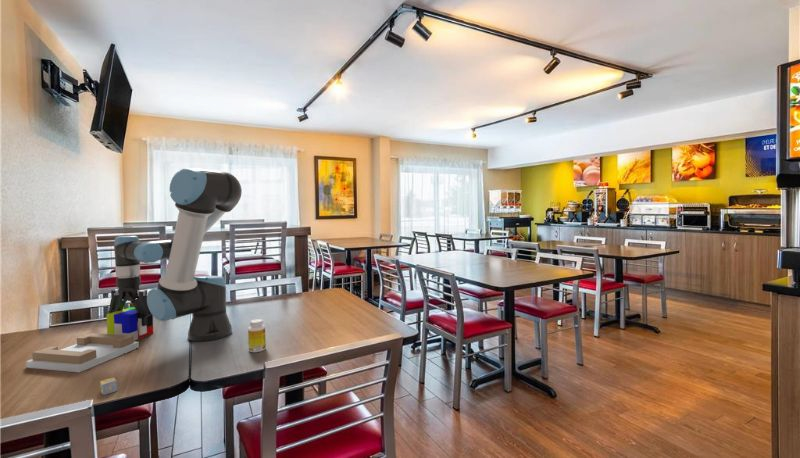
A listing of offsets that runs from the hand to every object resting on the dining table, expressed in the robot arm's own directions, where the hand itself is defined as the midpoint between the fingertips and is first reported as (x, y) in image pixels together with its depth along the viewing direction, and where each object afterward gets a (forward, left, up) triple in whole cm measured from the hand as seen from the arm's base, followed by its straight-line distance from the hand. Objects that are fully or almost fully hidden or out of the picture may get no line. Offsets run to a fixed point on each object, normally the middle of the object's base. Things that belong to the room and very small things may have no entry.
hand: (131, 333), depth 139 cm
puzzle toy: (0, 0, -2) cm, 2 cm away
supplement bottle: (-56, +4, -2) cm, 56 cm away
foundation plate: (-3, +19, -1) cm, 19 cm away
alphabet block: (-33, +37, -2) cm, 50 cm away
